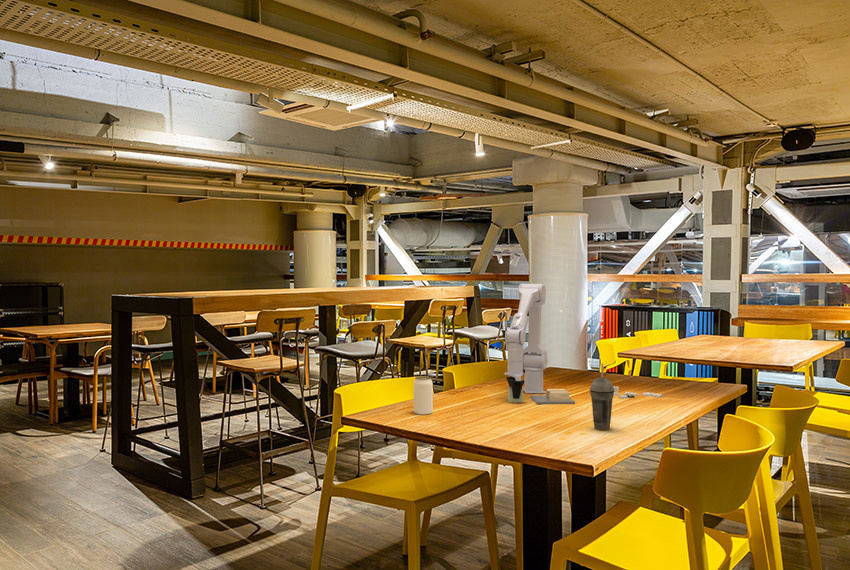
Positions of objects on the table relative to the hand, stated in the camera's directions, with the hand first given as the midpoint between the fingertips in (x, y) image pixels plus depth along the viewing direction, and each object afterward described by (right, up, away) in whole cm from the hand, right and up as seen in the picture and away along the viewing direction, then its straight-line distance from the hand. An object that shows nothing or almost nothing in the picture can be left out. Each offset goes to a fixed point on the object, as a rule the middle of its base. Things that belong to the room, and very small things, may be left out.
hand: (515, 397), depth 235 cm
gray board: (+14, -1, +1) cm, 14 cm away
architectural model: (+44, -2, +10) cm, 45 cm away
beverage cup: (+20, -2, -43) cm, 48 cm away
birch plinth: (+16, -1, 0) cm, 16 cm away
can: (-34, -2, -21) cm, 40 cm away
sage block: (0, -1, 0) cm, 1 cm away
